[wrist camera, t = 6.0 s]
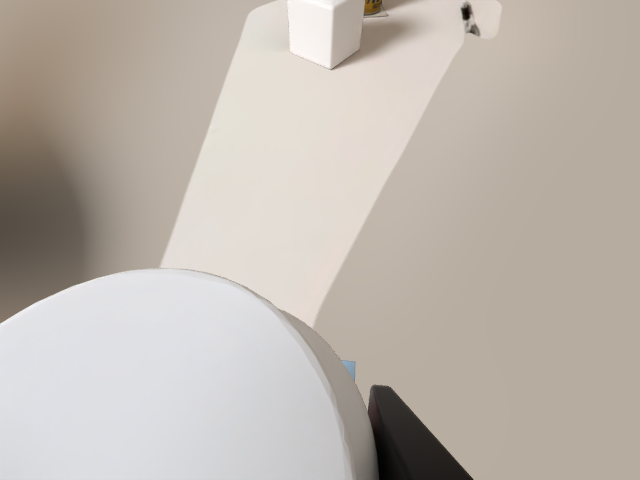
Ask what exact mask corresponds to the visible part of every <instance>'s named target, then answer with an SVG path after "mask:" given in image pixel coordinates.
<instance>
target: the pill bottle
mask: <svg viewBox="0 0 640 480" xmlns="http://www.w3.org/2000/svg"><path fill="white" fill-rule="evenodd" d="M0 480H379V470H378V458H377V452H376V446H375V439H374V434H373V430H372V426H371V423H370V419H369V416H368V412H367V409H366V406H365V404H364V402H363V399H362V397H361V394H360V392H359V390H358V387H357V385H356V384H355V382H354V380H353V378H352V376H351V375H350V373H349V371H348V370H347V368H346V367H345V365H344V364H343V362H342V361H341V360H340V358H339V357H338V355H337V354H336V353H335V351H334V350H333V349H332V348H331V346H330V345H329V344H328V343H327V342H326V341H325V340H324V339H323V338H322V337H321V336H320V335H319V334H318V333H317V332H316V331H314V330H313V329H312V328H311V327H309V326H308V325H307V324H305V323H304V322H302V321H301V320H299V319H298V318H296V317H294V316H293V315H291V314H289V313H287V312H285V311H283V310H280V309H278V308H277V307H276V306H274V305H273V304H272V303H271V302H270V301H268V300H267V299H265V298H263V297H262V296H260V295H258V294H257V293H255V292H254V291H252V290H250V289H249V288H247V287H245V286H243V285H240V284H238V283H235V282H233V281H231V280H228V279H226V278H224V277H220V276H217V275H213V274H210V273H206V272H200V271H194V270H188V269H168V268H156V269H155V268H154V269H141V270H132V271H125V272H120V273H116V274H112V275H108V276H104V277H100V278H97V279H94V280H91V281H88V282H84V283H81V284H78V285H75V286H73V287H70V288H68V289H65V290H63V291H61V292H59V293H57V294H54V295H52V296H50V297H48V298H46V299H43V300H41V301H39V302H36V303H35V304H33V305H31V306H29V307H28V308H26V309H24V310H22V311H21V312H19V313H17V314H16V315H14V316H12V317H11V318H9V319H7V320H6V321H4V322H3V323H1V324H0Z"/></svg>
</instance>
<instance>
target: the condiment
mask: <svg viewBox="0 0 640 480" xmlns="http://www.w3.org/2000/svg"><path fill="white" fill-rule="evenodd" d="M381 4H382V0H365V6H364V15H363V17H378V16H387V15H388V14H387V13H386V11H385V10H384V8H383V7H382V5H381Z"/></svg>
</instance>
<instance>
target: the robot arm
mask: <svg viewBox="0 0 640 480" xmlns="http://www.w3.org/2000/svg"><path fill="white" fill-rule="evenodd" d="M368 416H369V419H370V423H371V426H372V430H373V434H374V439H375V446H376V452H377V458H378V470H379V480H473V478H472V477H471V476H470V475H469V474H468V473H467V472H466V471H465V470H464V468H463V467H462V466H461V465H460V464H459V463H458V462H457V461H456V460H455V458H454V457H453V456H452V455H451V454H450V453H449V452H448V451H447V449H446V448H445V447H444V446H443V445H442V444H441V443H440V442H439V441H438V439H437V438H436V437H435V436H434V435H433V434H432V433H431V432H430V431H429V430H428V428H427V427H426V426H425V425H424V424H423V423H422V422H421V421H420V419H419V418H418V417H417V416H416V415H415V414H414V413H413V412H412V411H411V409H410V408H409V407H408V406H407V405H406V404H405V403H404V402H403V401H402V399H401V398H400V397H399V396H398V395H397V394H396V393H395V392H394V391H393V389H392V388H391V387H389V386H382V385H373V386H372V387H371V390H370V398H369V406H368Z"/></svg>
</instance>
